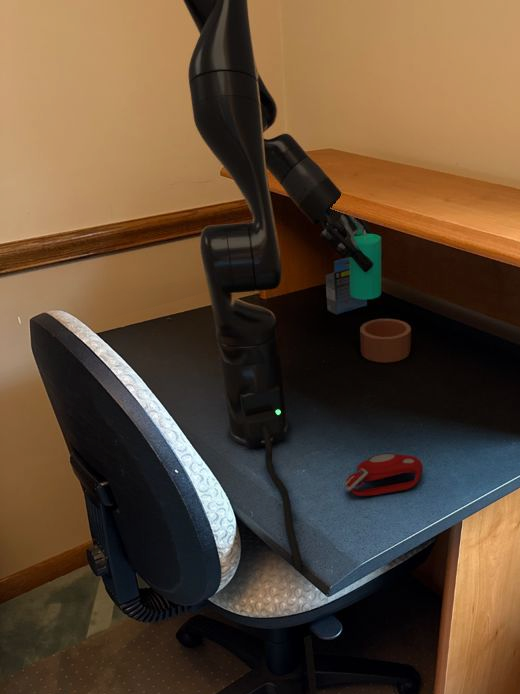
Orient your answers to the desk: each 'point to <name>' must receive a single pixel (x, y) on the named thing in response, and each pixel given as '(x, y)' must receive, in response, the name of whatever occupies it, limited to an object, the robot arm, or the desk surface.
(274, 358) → the robot arm
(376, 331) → the holder
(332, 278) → the tape cartridge
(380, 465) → the tracker holder
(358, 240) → the candle
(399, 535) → the desk surface
